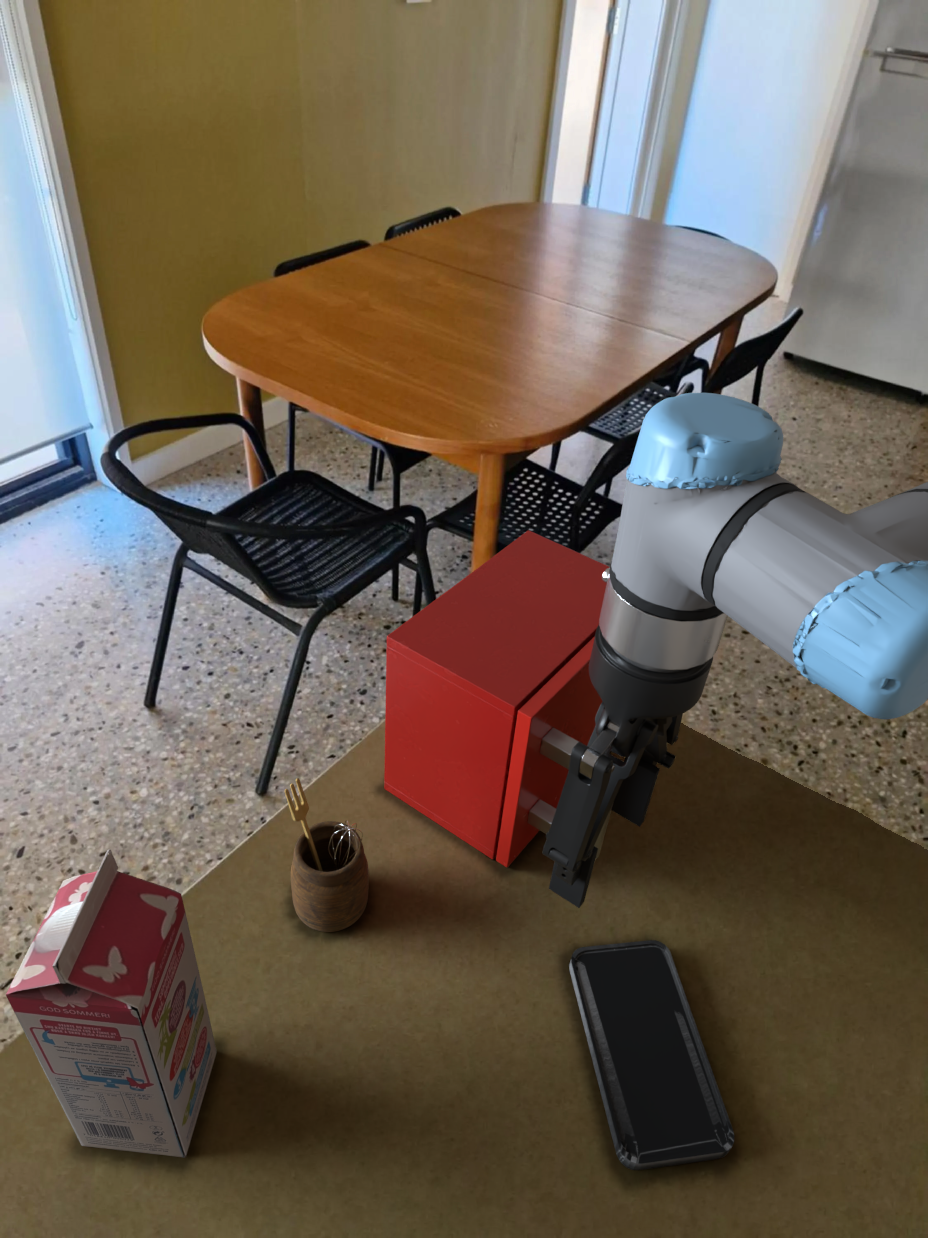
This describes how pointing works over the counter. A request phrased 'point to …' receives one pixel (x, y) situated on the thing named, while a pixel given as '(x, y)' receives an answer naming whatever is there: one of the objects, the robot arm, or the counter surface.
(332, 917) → the utensil holder
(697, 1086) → the phone
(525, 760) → the red cabinet door
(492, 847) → the cabinet
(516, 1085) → the counter surface
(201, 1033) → the juice carton
